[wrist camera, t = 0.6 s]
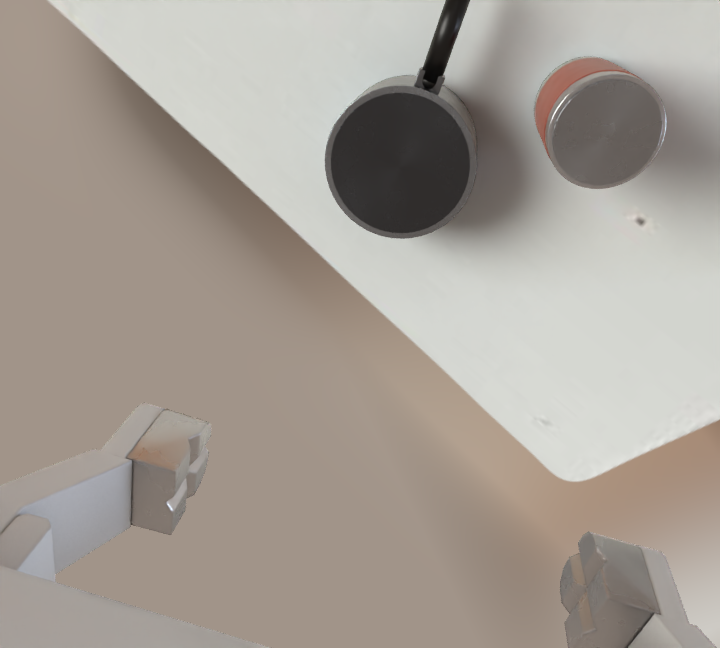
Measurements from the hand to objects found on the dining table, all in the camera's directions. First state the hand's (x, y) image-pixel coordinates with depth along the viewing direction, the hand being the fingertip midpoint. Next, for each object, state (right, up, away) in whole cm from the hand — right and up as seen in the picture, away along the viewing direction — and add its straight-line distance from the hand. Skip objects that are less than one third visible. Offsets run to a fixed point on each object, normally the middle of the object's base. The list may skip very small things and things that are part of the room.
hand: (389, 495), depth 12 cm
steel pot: (+5, +22, +37) cm, 43 cm away
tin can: (+17, +21, +35) cm, 44 cm away
